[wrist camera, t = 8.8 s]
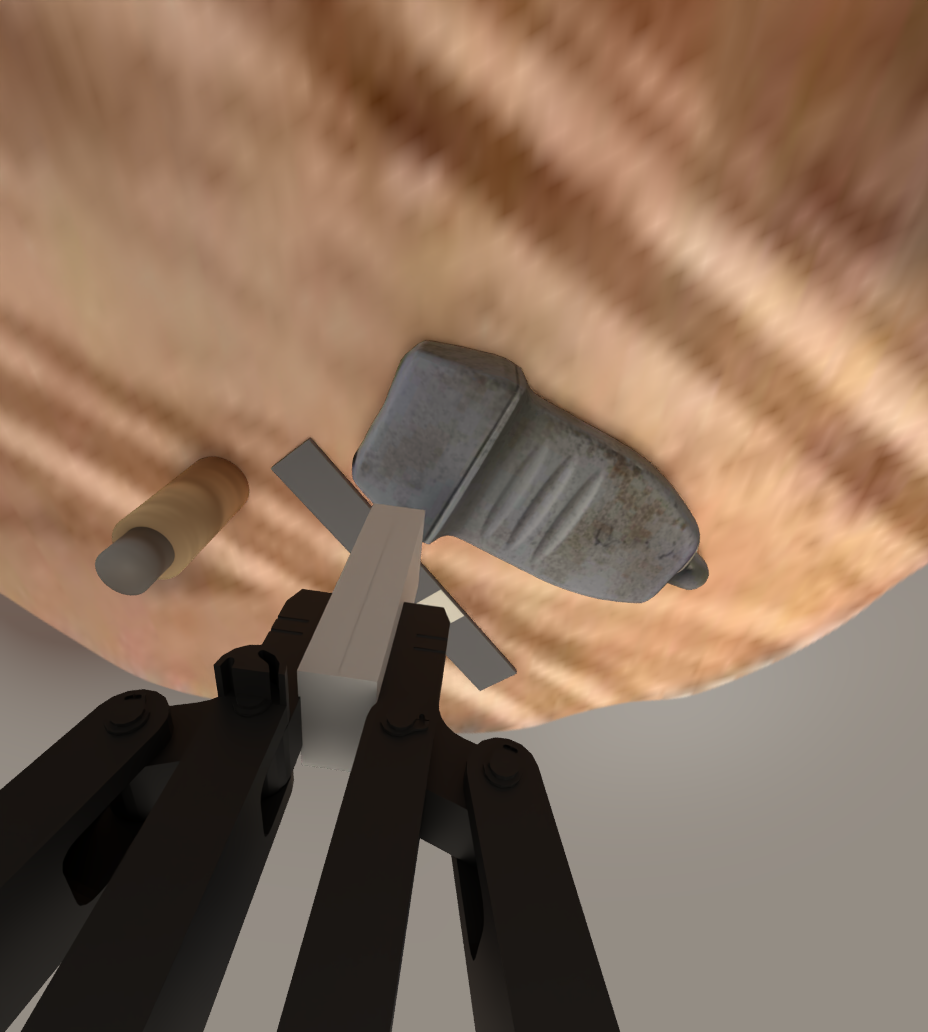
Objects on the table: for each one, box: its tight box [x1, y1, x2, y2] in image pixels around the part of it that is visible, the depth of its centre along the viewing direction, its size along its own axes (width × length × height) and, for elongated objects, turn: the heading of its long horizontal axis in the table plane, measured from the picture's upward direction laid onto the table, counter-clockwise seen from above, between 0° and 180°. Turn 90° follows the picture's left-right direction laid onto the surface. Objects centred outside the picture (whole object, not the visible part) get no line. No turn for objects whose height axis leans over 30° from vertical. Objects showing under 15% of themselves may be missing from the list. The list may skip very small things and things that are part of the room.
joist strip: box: [271, 438, 517, 691], centre depth 34 cm, size 20×3×1 cm, turn 37°
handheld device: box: [352, 341, 709, 603], centre depth 29 cm, size 10×20×5 cm, turn 62°
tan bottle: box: [95, 457, 249, 595], centre depth 28 cm, size 4×4×9 cm
